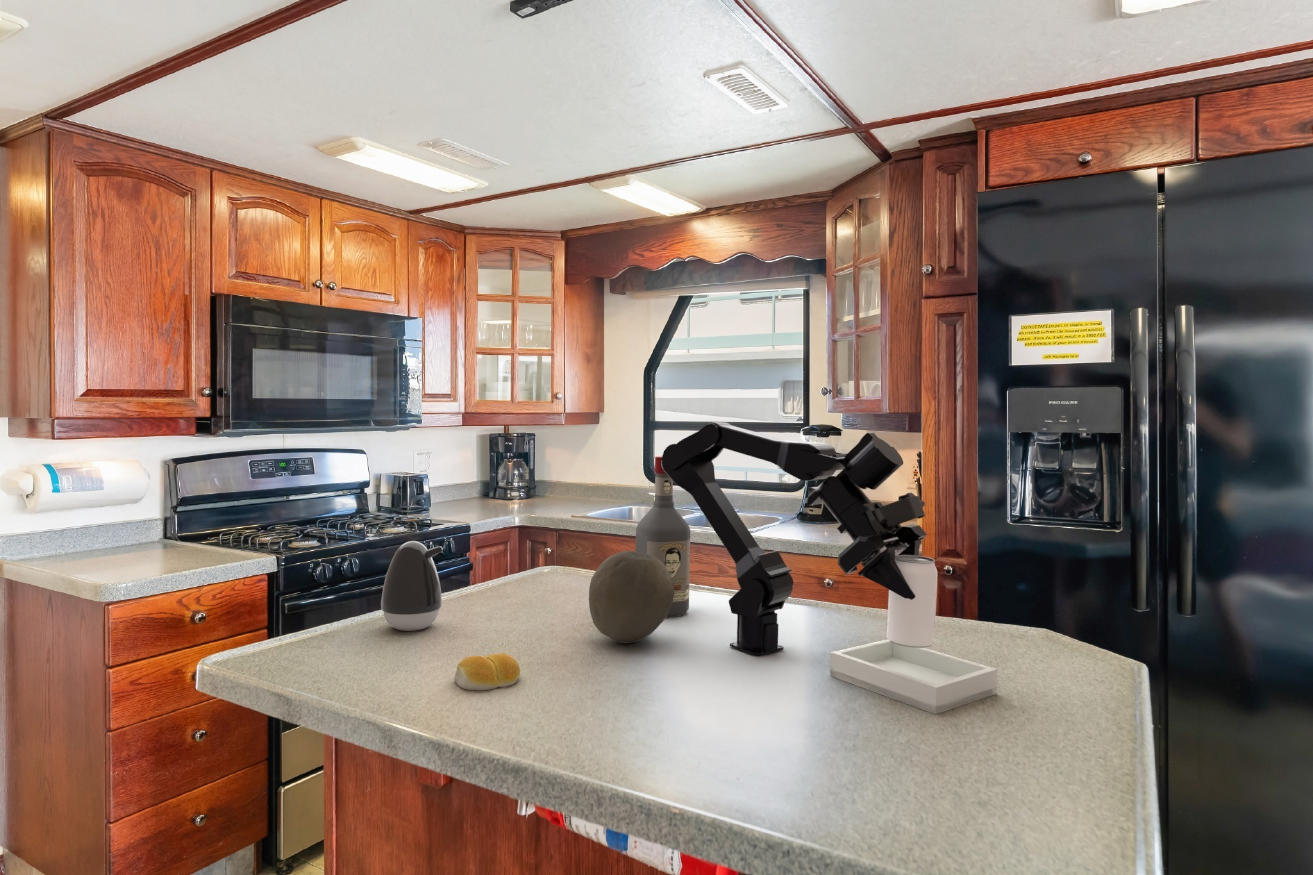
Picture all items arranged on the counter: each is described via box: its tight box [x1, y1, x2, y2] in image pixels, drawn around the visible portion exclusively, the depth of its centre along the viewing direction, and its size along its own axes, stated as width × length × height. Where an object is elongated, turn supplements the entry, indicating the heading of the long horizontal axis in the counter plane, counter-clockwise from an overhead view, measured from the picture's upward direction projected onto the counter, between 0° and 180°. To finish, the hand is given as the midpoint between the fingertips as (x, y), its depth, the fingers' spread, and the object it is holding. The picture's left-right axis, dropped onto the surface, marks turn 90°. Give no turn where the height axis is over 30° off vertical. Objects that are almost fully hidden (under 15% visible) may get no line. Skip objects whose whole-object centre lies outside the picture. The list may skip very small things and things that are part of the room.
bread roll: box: [453, 653, 521, 691], centre depth 113 cm, size 8×9×4 cm
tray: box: [829, 638, 998, 715], centre depth 115 cm, size 18×14×4 cm
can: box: [886, 555, 938, 648], centre depth 114 cm, size 6×6×12 cm
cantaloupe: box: [588, 550, 674, 644], centre depth 134 cm, size 14×14×15 cm
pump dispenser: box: [380, 540, 444, 632], centre depth 140 cm, size 10×10×15 cm
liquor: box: [635, 456, 691, 618], centre depth 154 cm, size 9×9×30 cm
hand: (921, 595), depth 113 cm, fingers closed on can, 6 cm apart
